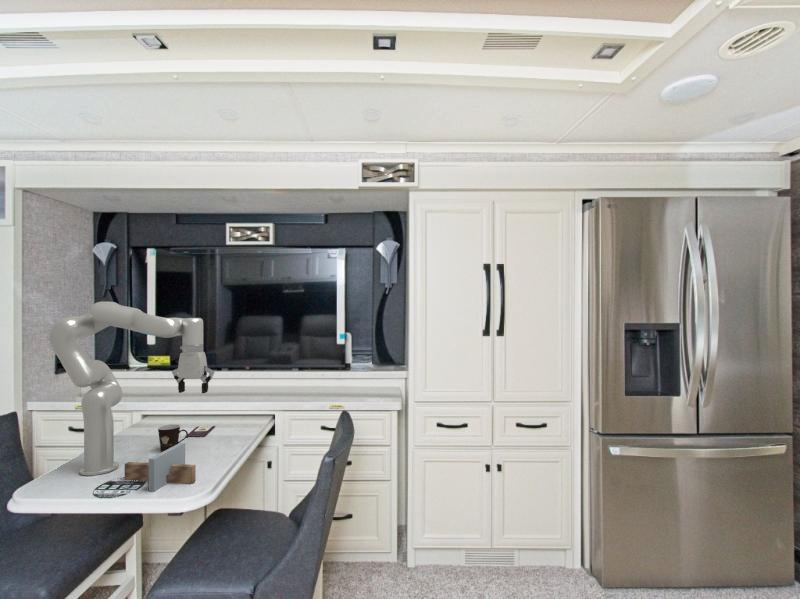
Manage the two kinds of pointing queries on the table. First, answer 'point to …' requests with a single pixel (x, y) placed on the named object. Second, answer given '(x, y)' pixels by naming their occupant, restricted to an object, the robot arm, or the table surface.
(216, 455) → the table surface
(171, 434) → the coffee mug
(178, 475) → the walnut board
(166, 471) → the grey panel
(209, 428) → the chocolate bar
